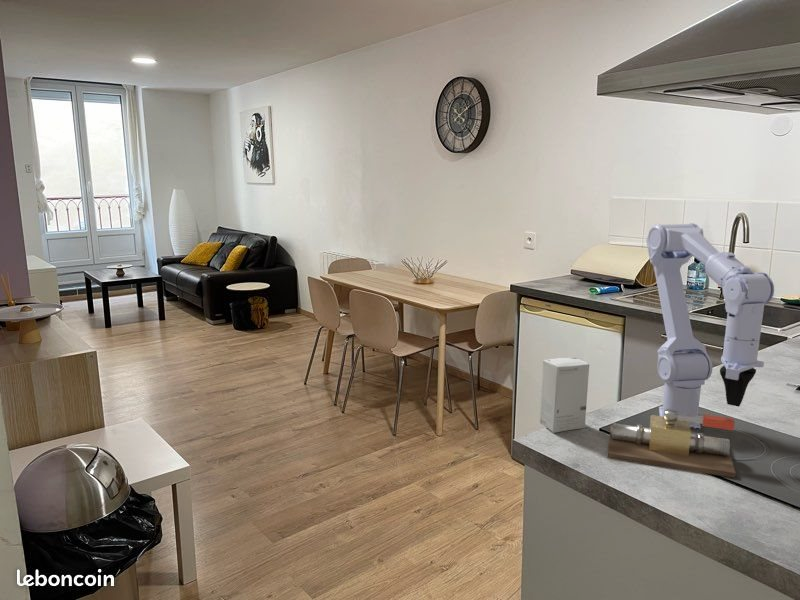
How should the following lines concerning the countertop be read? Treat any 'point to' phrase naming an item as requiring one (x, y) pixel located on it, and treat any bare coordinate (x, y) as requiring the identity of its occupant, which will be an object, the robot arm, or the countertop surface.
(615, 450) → the base board
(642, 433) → the valve housing
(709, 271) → the robot arm
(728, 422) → the valve lever
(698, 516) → the countertop surface
